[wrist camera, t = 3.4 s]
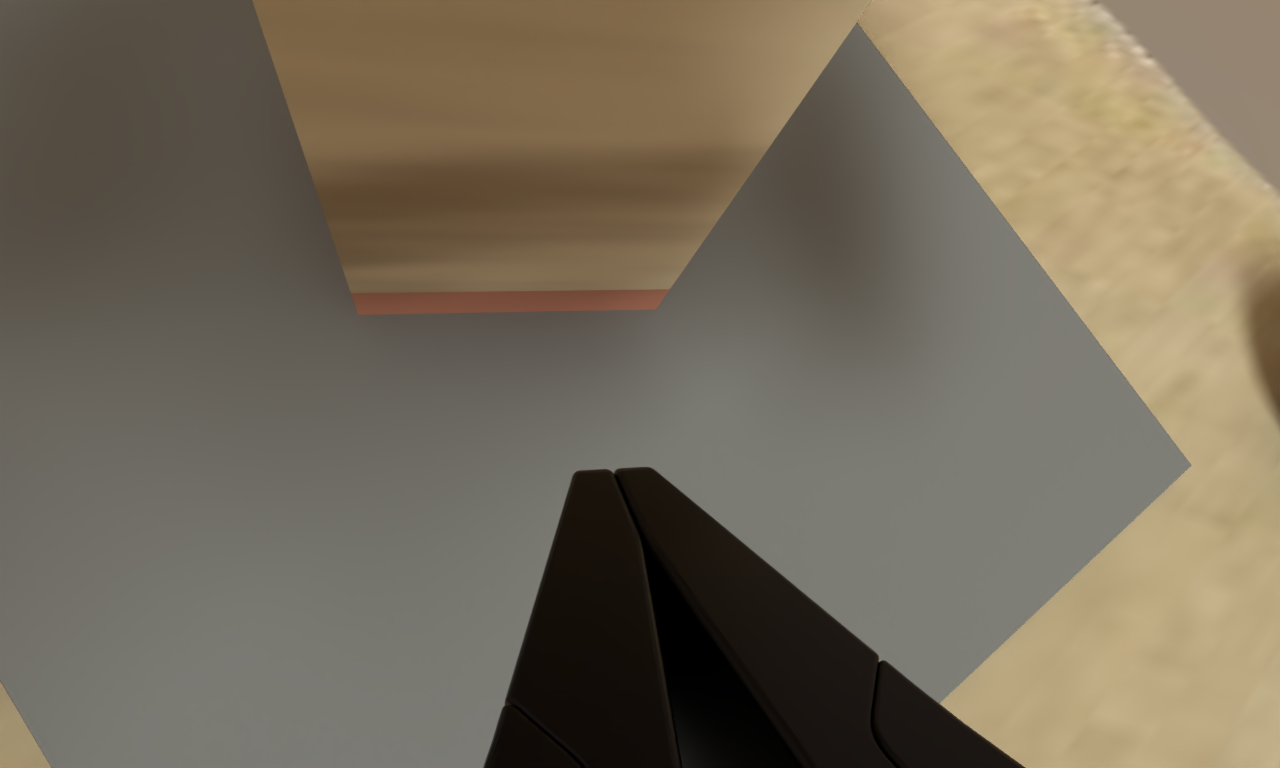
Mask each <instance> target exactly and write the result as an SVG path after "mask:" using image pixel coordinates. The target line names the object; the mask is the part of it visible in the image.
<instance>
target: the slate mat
mask: <svg viewBox="0 0 1280 768" xmlns="http://www.w3.org/2000/svg"><path fill="white" fill-rule="evenodd" d="M1190 466H1191V464H1190V463H1189V461H1188V460H1187V459H1186V457H1185V456H1184V455H1183V453H1182V452H1181V451H1180V449H1179V448H1178V447H1177V446H1176V444H1175V443H1174V442H1173V440H1172V439H1171V438H1170V436H1169V435H1168V434H1167V432H1166V431H1165V430H1164V428H1163V427H1162V426H1161V424H1160V423H1159V422H1158V420H1157V419H1156V418H1155V416H1154V415H1153V414H1152V412H1151V411H1150V410H1149V408H1148V407H1147V406H1146V404H1145V403H1144V402H1143V400H1142V399H1141V398H1140V397H1139V395H1138V394H1137V393H1136V391H1135V390H1134V389H1133V387H1132V386H1131V385H1130V383H1129V382H1128V381H1127V379H1126V378H1125V377H1124V375H1123V374H1122V373H1121V371H1120V370H1119V369H1118V367H1117V366H1116V365H1115V363H1114V362H1113V361H1112V359H1111V358H1110V357H1109V355H1108V354H1107V353H1106V351H1105V350H1104V349H1103V348H1102V346H1101V345H1100V344H1099V342H1098V341H1097V340H1096V338H1095V337H1094V336H1093V334H1092V333H1091V332H1090V330H1089V329H1088V328H1087V326H1086V325H1085V324H1084V322H1083V321H1082V320H1081V318H1080V317H1079V316H1078V314H1077V313H1076V312H1075V310H1074V309H1073V308H1072V306H1071V305H1070V304H1069V302H1068V301H1067V300H1066V299H1065V297H1064V296H1063V295H1062V293H1061V292H1060V291H1059V289H1058V288H1057V287H1056V285H1055V284H1054V283H1053V281H1052V280H1051V279H1050V277H1049V276H1048V275H1047V273H1046V272H1045V271H1044V269H1043V268H1042V267H1041V265H1040V264H1039V263H1038V261H1037V260H1036V259H1035V257H1034V256H1033V255H1032V253H1031V252H1030V251H1029V250H1028V248H1027V247H1026V246H1025V244H1024V243H1023V242H1022V240H1021V239H1020V238H1019V236H1018V235H1017V234H1016V232H1015V231H1014V230H1013V228H1012V227H1011V226H1010V224H1009V223H1008V222H1007V220H1006V219H1005V218H1004V216H1003V215H1002V214H1001V212H1000V211H999V210H998V208H997V207H996V206H995V204H994V203H993V202H992V201H991V199H990V198H989V197H988V195H987V194H986V193H985V191H984V190H983V189H982V187H981V186H980V185H979V183H978V182H977V181H976V179H975V178H974V177H973V175H972V174H971V173H970V171H969V170H968V169H967V167H966V166H965V165H964V163H963V162H962V161H961V159H960V158H959V157H958V155H957V154H956V153H955V152H954V150H953V149H952V148H951V146H950V145H949V144H948V142H947V141H946V140H945V138H944V137H943V136H942V134H941V133H940V132H939V130H938V129H937V128H936V126H935V125H934V124H933V122H932V121H931V120H930V118H929V117H928V116H927V114H926V113H925V112H924V110H923V109H922V108H921V106H920V105H919V104H918V103H917V101H916V100H915V99H914V97H913V96H912V95H911V93H910V92H909V91H908V89H907V88H906V87H905V85H904V84H903V83H902V81H901V80H900V79H899V77H898V76H897V75H896V73H895V72H894V71H893V69H892V68H891V67H890V65H889V64H888V63H887V61H886V60H885V59H884V57H883V56H882V55H881V54H880V52H879V51H878V50H877V48H876V47H875V46H874V44H873V43H872V42H871V40H870V39H869V38H868V36H867V35H866V34H865V32H864V31H863V30H862V28H861V27H860V26H859V24H858V23H856V24H855V26H854V27H853V28H852V30H851V31H850V33H849V34H848V36H847V37H846V38H845V40H844V41H843V43H842V44H841V46H840V47H839V48H838V50H837V51H836V53H835V54H834V56H833V57H832V58H831V60H830V61H829V63H828V64H827V66H826V67H825V68H824V70H823V71H822V73H821V74H820V76H819V77H818V78H817V80H816V81H815V83H814V84H813V86H812V87H811V88H810V90H809V91H808V93H807V94H806V96H805V97H804V98H803V100H802V101H801V103H800V104H799V106H798V107H797V108H796V110H795V111H794V113H793V114H792V116H791V117H790V118H789V120H788V121H787V123H786V124H785V126H784V127H783V128H782V130H781V131H780V133H779V134H778V136H777V137H776V138H775V140H774V141H773V143H772V144H771V146H770V147H769V148H768V150H767V151H766V153H765V154H764V156H763V157H762V158H761V160H760V161H759V163H758V164H757V166H756V167H755V168H754V170H753V171H752V173H751V174H750V176H749V177H748V178H747V180H746V181H745V183H744V184H743V186H742V187H741V188H740V190H739V191H738V193H737V194H736V196H735V197H734V198H733V200H732V201H731V203H730V204H729V206H728V207H727V208H726V210H725V211H724V213H723V214H722V216H721V217H720V218H719V220H718V221H717V223H716V224H715V226H714V227H713V228H712V230H711V231H710V233H709V234H708V236H707V237H706V238H705V240H704V241H703V243H702V244H701V246H700V247H699V248H698V250H697V251H696V253H695V254H694V256H693V257H692V258H691V260H690V261H689V263H688V264H687V266H686V267H685V268H684V270H683V271H682V273H681V274H680V276H679V277H678V278H677V280H676V281H675V283H674V284H673V286H672V287H671V288H670V290H669V291H668V293H667V294H666V296H665V297H664V298H663V300H662V301H661V303H660V304H659V306H658V307H657V308H656V309H654V310H599V311H544V312H489V313H434V314H379V315H358V313H357V310H356V307H355V304H354V301H353V298H352V295H351V292H350V289H349V286H348V283H347V280H346V277H345V274H344V271H343V269H342V266H341V263H340V260H339V257H338V254H337V251H336V248H335V245H334V242H333V239H332V236H331V233H330V230H329V227H328V224H327V221H326V218H325V215H324V212H323V209H322V206H321V203H320V200H319V197H318V194H317V191H316V188H315V185H314V182H313V179H312V176H311V173H310V171H309V168H308V165H307V162H306V159H305V156H304V153H303V150H302V147H301V144H300V141H299V138H298V135H297V132H296V129H295V126H294V123H293V120H292V117H291V114H290V111H289V108H288V105H287V102H286V99H285V96H284V93H283V90H282V87H281V84H280V81H279V78H278V75H277V73H276V70H275V67H274V64H273V61H272V58H271V55H270V52H269V49H268V46H267V43H266V40H265V37H264V34H263V31H262V28H261V25H260V22H259V19H258V16H257V13H256V10H255V7H254V4H253V1H252V0H0V681H1V683H2V685H3V686H4V688H5V690H6V691H7V693H8V695H9V696H10V698H11V700H12V702H13V703H14V705H15V707H16V708H17V710H18V712H19V713H20V715H21V717H22V719H23V720H24V722H25V724H26V725H27V727H28V729H29V730H30V732H31V734H32V735H33V737H34V739H35V741H36V742H37V744H38V746H39V747H40V749H41V751H42V752H43V754H44V756H45V758H46V759H47V761H48V763H49V764H50V766H51V768H483V766H484V763H485V760H486V757H487V755H488V752H489V749H490V746H491V743H492V740H493V736H494V733H495V730H496V726H497V723H498V720H499V716H500V713H501V710H502V708H503V707H504V706H505V698H506V695H507V692H508V688H509V685H510V682H511V678H512V675H513V672H514V669H515V665H516V662H517V659H518V655H519V652H520V649H521V645H522V642H523V639H524V635H525V632H526V629H527V625H528V622H529V619H530V615H531V612H532V609H533V605H534V602H535V599H536V595H537V592H538V589H539V586H540V582H541V579H542V576H543V572H544V569H545V566H546V562H547V559H548V556H549V552H550V549H551V546H552V542H553V539H554V536H555V532H556V529H557V526H558V522H559V519H560V516H561V512H562V509H563V506H564V502H565V499H566V496H567V492H568V489H569V486H570V482H571V479H572V476H573V474H574V473H575V472H576V471H579V470H595V469H608V470H610V471H612V472H613V473H614V471H615V470H616V469H618V468H631V467H651V468H653V469H655V470H656V471H657V472H658V473H660V474H661V475H662V476H663V477H664V478H666V479H667V480H668V481H669V482H670V483H672V484H673V485H674V486H675V487H677V488H678V489H679V490H680V491H681V492H683V493H684V494H685V495H686V496H687V497H689V498H690V499H691V500H692V501H693V502H695V503H696V504H697V505H698V506H699V507H701V508H702V509H703V510H704V511H706V512H707V513H708V514H709V515H710V516H712V517H713V518H714V519H715V520H716V521H718V522H719V523H720V524H721V525H722V526H724V527H725V528H726V529H727V530H729V531H730V532H731V533H732V534H733V535H735V536H736V537H737V538H738V539H739V540H741V541H742V542H743V543H744V544H745V545H747V546H748V547H749V548H750V549H751V550H753V551H754V552H755V553H756V554H758V555H759V556H760V557H761V558H762V559H764V560H765V561H766V562H767V563H768V564H770V565H771V566H772V567H773V568H774V569H776V570H777V571H778V572H779V573H780V574H782V575H783V576H784V577H785V578H787V579H788V580H789V581H790V582H791V583H793V584H794V585H795V586H796V587H797V588H799V589H800V590H801V591H802V592H803V593H805V594H806V595H807V596H808V597H809V598H811V599H812V600H813V601H814V602H816V603H817V604H818V605H819V606H820V607H822V608H823V609H824V610H825V611H826V612H828V613H829V614H830V615H831V616H832V617H834V618H835V619H836V620H837V621H838V622H840V623H841V624H842V625H843V626H845V627H846V628H847V629H848V630H849V631H851V632H852V633H853V634H854V635H855V636H857V637H858V638H859V639H860V640H861V641H863V642H864V643H865V644H866V645H868V646H869V647H870V648H871V649H872V650H874V651H875V652H876V653H877V654H878V655H879V662H880V661H882V660H885V661H887V662H888V663H890V664H891V665H892V666H893V667H895V668H896V669H897V670H898V671H899V672H901V673H902V674H903V675H904V676H905V677H907V678H908V679H909V680H910V681H911V682H913V683H914V684H915V685H916V686H918V687H919V688H920V689H921V690H923V691H924V692H925V693H926V694H928V695H929V696H930V697H932V698H933V699H934V700H935V701H937V702H938V703H941V702H942V701H943V700H944V699H945V698H946V697H947V696H948V695H949V694H950V693H951V692H952V691H953V690H954V689H955V688H956V687H957V686H959V685H960V684H961V683H962V682H963V681H964V680H965V679H966V678H967V677H968V676H969V675H970V674H971V673H972V672H973V671H974V670H975V669H977V668H978V667H979V666H980V665H981V664H982V663H983V662H984V661H985V660H986V659H987V658H988V657H989V656H990V655H991V654H992V653H993V652H995V651H996V650H997V649H998V648H999V647H1000V646H1001V645H1002V644H1003V643H1004V642H1005V641H1006V640H1007V639H1008V638H1009V637H1010V636H1011V635H1013V634H1014V633H1015V632H1016V631H1017V630H1018V629H1019V628H1020V627H1021V626H1022V625H1023V624H1024V623H1025V622H1026V621H1027V620H1028V619H1029V618H1031V617H1032V616H1033V615H1034V614H1035V613H1036V612H1037V611H1038V610H1039V609H1040V608H1041V607H1042V606H1043V605H1044V604H1045V603H1046V602H1047V601H1048V600H1050V599H1051V598H1052V597H1053V596H1054V595H1055V594H1056V593H1057V592H1058V591H1059V590H1060V589H1061V588H1062V587H1063V586H1064V585H1065V584H1066V583H1068V582H1069V581H1070V580H1071V579H1072V578H1073V577H1074V576H1075V575H1076V574H1077V573H1078V572H1079V571H1080V570H1081V569H1082V568H1083V567H1084V566H1086V565H1087V564H1088V563H1089V562H1090V561H1091V560H1092V559H1093V558H1094V557H1095V556H1096V555H1097V554H1098V553H1099V552H1100V551H1101V550H1102V549H1104V548H1105V547H1106V546H1107V545H1108V544H1109V543H1110V542H1111V541H1112V540H1113V539H1114V538H1115V537H1116V536H1117V535H1118V534H1119V533H1120V532H1122V531H1123V530H1124V529H1125V528H1126V527H1127V526H1128V525H1129V524H1130V523H1131V522H1132V521H1133V520H1134V519H1135V518H1136V517H1137V516H1138V515H1140V514H1141V513H1142V512H1143V511H1144V510H1145V509H1146V508H1147V507H1148V506H1149V505H1150V504H1151V503H1152V502H1153V501H1154V500H1155V499H1156V498H1158V497H1159V496H1160V495H1161V494H1162V493H1163V492H1164V491H1165V490H1166V489H1167V488H1168V487H1169V486H1170V485H1171V484H1172V483H1173V482H1174V481H1175V480H1177V479H1178V478H1179V477H1180V476H1181V475H1182V474H1183V473H1184V472H1185V471H1186V470H1187V469H1188V468H1189V467H1190Z"/></svg>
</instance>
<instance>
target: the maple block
mask: <svg viewBox="0 0 1280 768" xmlns="http://www.w3.org/2000/svg"><path fill="white" fill-rule="evenodd" d="M252 1H253V4H254V7H255V10H256V13H257V16H258V19H259V22H260V25H261V28H262V31H263V34H264V37H265V40H266V43H267V46H268V49H269V52H270V55H271V58H272V61H273V64H274V67H275V70H276V73H277V75H278V78H279V81H280V84H281V87H282V90H283V93H284V96H285V99H286V102H287V105H288V108H289V111H290V114H291V117H292V120H293V123H294V126H295V129H296V132H297V135H298V138H299V141H300V144H301V147H302V150H303V153H304V156H305V159H306V162H307V165H308V168H309V171H310V173H311V176H312V179H313V182H314V185H315V188H316V191H317V194H318V197H319V200H320V203H321V206H322V209H323V212H324V215H325V218H326V221H327V224H328V227H329V230H330V233H331V236H332V239H333V242H334V245H335V248H336V251H337V254H338V257H339V260H340V263H341V266H342V269H343V271H344V274H345V277H346V280H347V283H348V286H349V289H350V292H351V295H352V298H353V301H354V304H355V307H356V310H357V313H358V315H379V314H434V313H489V312H544V311H599V310H654V309H656V308H657V307H658V306H659V304H660V303H661V301H662V300H663V298H664V297H665V296H666V294H667V293H668V291H669V290H670V288H671V287H672V286H673V284H674V283H675V281H676V280H677V278H678V277H679V276H680V274H681V273H682V271H683V270H684V268H685V267H686V266H687V264H688V263H689V261H690V260H691V258H692V257H693V256H694V254H695V253H696V251H697V250H698V248H699V247H700V246H701V244H702V243H703V241H704V240H705V238H706V237H707V236H708V234H709V233H710V231H711V230H712V228H713V227H714V226H715V224H716V223H717V221H718V220H719V218H720V217H721V216H722V214H723V213H724V211H725V210H726V208H727V207H728V206H729V204H730V203H731V201H732V200H733V198H734V197H735V196H736V194H737V193H738V191H739V190H740V188H741V187H742V186H743V184H744V183H745V181H746V180H747V178H748V177H749V176H750V174H751V173H752V171H753V170H754V168H755V167H756V166H757V164H758V163H759V161H760V160H761V158H762V157H763V156H764V154H765V153H766V151H767V150H768V148H769V147H770V146H771V144H772V143H773V141H774V140H775V138H776V137H777V136H778V134H779V133H780V131H781V130H782V128H783V127H784V126H785V124H786V123H787V121H788V120H789V118H790V117H791V116H792V114H793V113H794V111H795V110H796V108H797V107H798V106H799V104H800V103H801V101H802V100H803V98H804V97H805V96H806V94H807V93H808V91H809V90H810V88H811V87H812V86H813V84H814V83H815V81H816V80H817V78H818V77H819V76H820V74H821V73H822V71H823V70H824V68H825V67H826V66H827V64H828V63H829V61H830V60H831V58H832V57H833V56H834V54H835V53H836V51H837V50H838V48H839V47H840V46H841V44H842V43H843V41H844V40H845V38H846V37H847V36H848V34H849V33H850V31H851V30H852V28H853V27H854V26H855V24H856V23H857V21H858V20H859V18H860V17H861V16H862V14H863V13H864V11H865V10H866V8H867V7H868V6H869V4H870V3H871V1H872V0H252Z"/></svg>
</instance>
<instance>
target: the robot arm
mask: <svg viewBox="0 0 1280 768" xmlns="http://www.w3.org/2000/svg"><path fill="white" fill-rule="evenodd" d="M483 768H1025V767H1024V766H1022V765H1021V764H1020V763H1018V762H1017V761H1015V760H1014V759H1013V758H1011V757H1010V756H1009V755H1007V754H1006V753H1004V752H1003V751H1002V750H1000V749H999V748H997V747H996V746H995V745H993V744H992V743H991V742H989V741H988V740H986V739H985V738H984V737H982V736H981V735H980V734H978V733H977V732H975V731H974V730H973V729H971V728H970V727H969V726H967V725H966V724H964V723H963V722H962V721H961V720H959V719H958V718H957V717H956V716H954V715H953V714H952V713H951V712H949V711H948V710H947V709H945V708H944V707H943V706H942V705H940V704H939V703H938V702H937V701H935V700H934V699H933V698H932V697H930V696H929V695H928V694H926V693H925V692H924V691H923V690H921V689H920V688H919V687H918V686H916V685H915V684H914V683H913V682H911V681H910V680H909V679H908V678H907V677H905V676H904V675H903V674H902V673H901V672H899V671H898V670H897V669H896V668H895V667H893V666H892V665H891V664H890V663H888V662H887V661H885V660H882V661H880V662H879V655H878V654H877V653H876V652H875V651H874V650H872V649H871V648H870V647H869V646H868V645H866V644H865V643H864V642H863V641H861V640H860V639H859V638H858V637H857V636H855V635H854V634H853V633H852V632H851V631H849V630H848V629H847V628H846V627H845V626H843V625H842V624H841V623H840V622H838V621H837V620H836V619H835V618H834V617H832V616H831V615H830V614H829V613H828V612H826V611H825V610H824V609H823V608H822V607H820V606H819V605H818V604H817V603H816V602H814V601H813V600H812V599H811V598H809V597H808V596H807V595H806V594H805V593H803V592H802V591H801V590H800V589H799V588H797V587H796V586H795V585H794V584H793V583H791V582H790V581H789V580H788V579H787V578H785V577H784V576H783V575H782V574H780V573H779V572H778V571H777V570H776V569H774V568H773V567H772V566H771V565H770V564H768V563H767V562H766V561H765V560H764V559H762V558H761V557H760V556H759V555H758V554H756V553H755V552H754V551H753V550H751V549H750V548H749V547H748V546H747V545H745V544H744V543H743V542H742V541H741V540H739V539H738V538H737V537H736V536H735V535H733V534H732V533H731V532H730V531H729V530H727V529H726V528H725V527H724V526H722V525H721V524H720V523H719V522H718V521H716V520H715V519H714V518H713V517H712V516H710V515H709V514H708V513H707V512H706V511H704V510H703V509H702V508H701V507H699V506H698V505H697V504H696V503H695V502H693V501H692V500H691V499H690V498H689V497H687V496H686V495H685V494H684V493H683V492H681V491H680V490H679V489H678V488H677V487H675V486H674V485H673V484H672V483H670V482H669V481H668V480H667V479H666V478H664V477H663V476H662V475H661V474H660V473H658V472H657V471H656V470H655V469H653V468H651V467H631V468H618V469H616V470H615V471H614V473H613V472H612V471H610V470H608V469H595V470H579V471H576V472H575V473H574V474H573V476H572V479H571V482H570V486H569V489H568V492H567V496H566V499H565V502H564V506H563V509H562V512H561V516H560V519H559V522H558V526H557V529H556V532H555V536H554V539H553V542H552V546H551V549H550V552H549V556H548V559H547V562H546V566H545V569H544V572H543V576H542V579H541V582H540V586H539V589H538V592H537V595H536V599H535V602H534V605H533V609H532V612H531V615H530V619H529V622H528V625H527V629H526V632H525V635H524V639H523V642H522V645H521V649H520V652H519V655H518V659H517V662H516V665H515V669H514V672H513V675H512V678H511V682H510V685H509V688H508V692H507V695H506V698H505V706H504V707H503V708H502V710H501V713H500V716H499V720H498V723H497V726H496V730H495V733H494V736H493V740H492V743H491V746H490V749H489V752H488V755H487V757H486V760H485V763H484V766H483Z"/></svg>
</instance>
